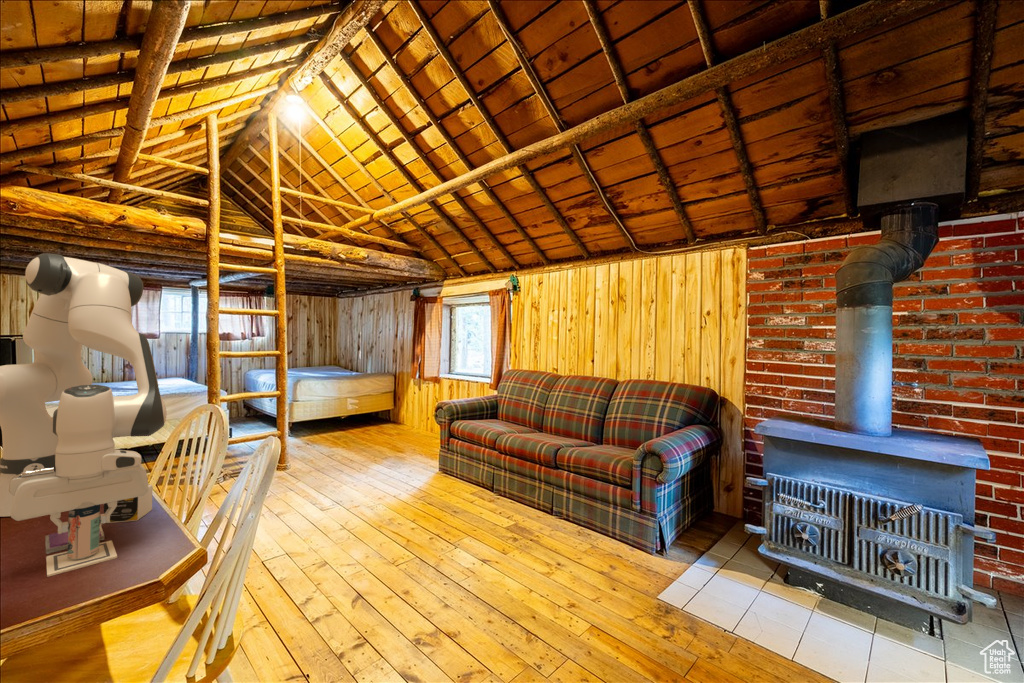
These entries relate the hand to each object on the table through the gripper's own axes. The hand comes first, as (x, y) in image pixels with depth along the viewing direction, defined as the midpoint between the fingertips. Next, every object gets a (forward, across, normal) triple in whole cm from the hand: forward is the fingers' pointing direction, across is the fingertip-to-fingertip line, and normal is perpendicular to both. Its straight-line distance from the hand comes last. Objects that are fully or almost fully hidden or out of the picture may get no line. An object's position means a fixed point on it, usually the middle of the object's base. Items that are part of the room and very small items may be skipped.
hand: (84, 527), depth 89 cm
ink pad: (+6, -1, +12) cm, 14 cm away
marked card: (+6, 0, 0) cm, 7 cm away
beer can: (+6, 0, 0) cm, 6 cm away
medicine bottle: (+7, +9, +20) cm, 23 cm away
